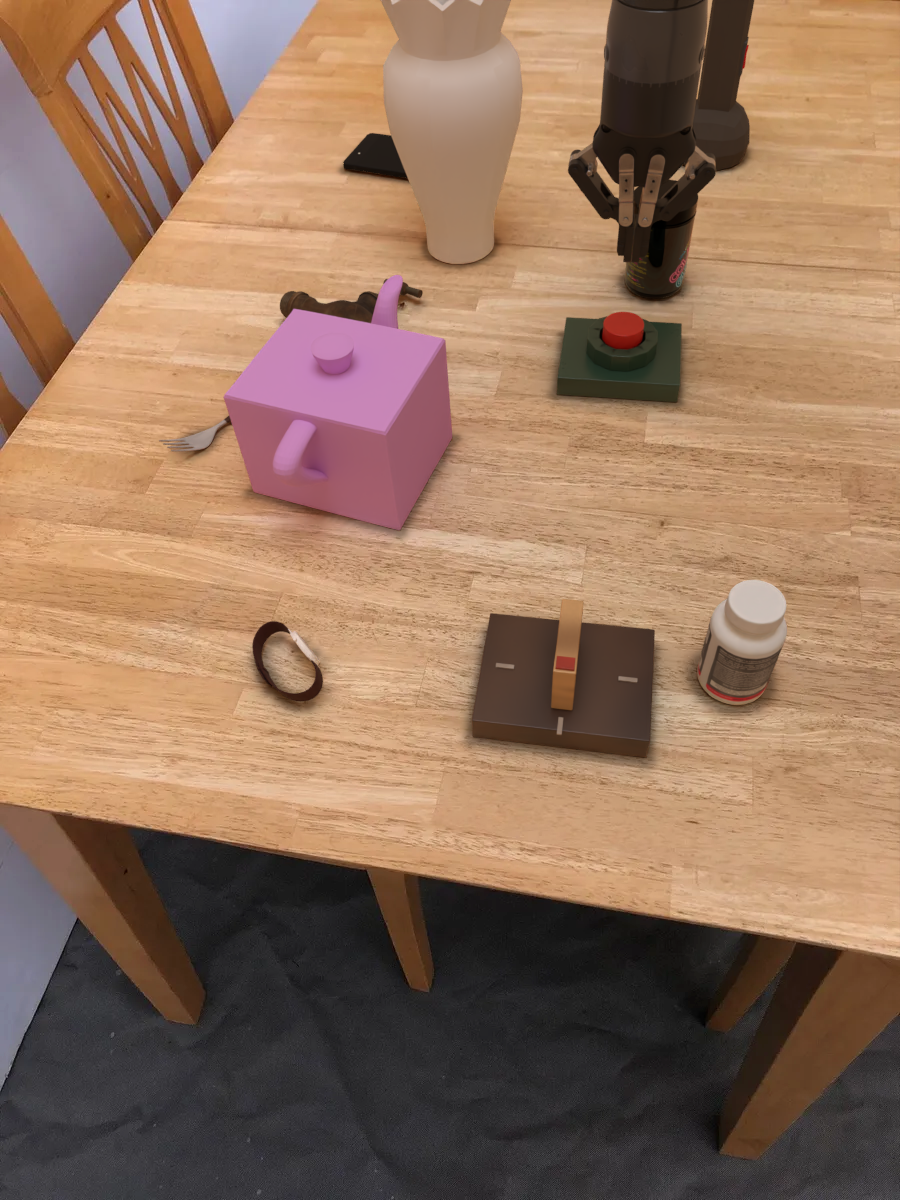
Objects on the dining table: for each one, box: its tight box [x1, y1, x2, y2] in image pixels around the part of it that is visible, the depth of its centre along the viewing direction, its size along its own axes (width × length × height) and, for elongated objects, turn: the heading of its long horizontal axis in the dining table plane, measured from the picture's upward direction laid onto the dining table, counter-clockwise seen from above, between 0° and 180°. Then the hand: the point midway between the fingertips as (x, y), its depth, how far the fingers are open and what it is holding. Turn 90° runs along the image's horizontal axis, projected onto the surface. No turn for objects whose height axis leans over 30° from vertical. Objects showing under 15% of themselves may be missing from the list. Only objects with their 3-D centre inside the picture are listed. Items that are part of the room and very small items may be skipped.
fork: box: [158, 415, 231, 453], centre depth 93 cm, size 3×16×2 cm, turn 135°
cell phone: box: [342, 132, 408, 180], centre depth 123 cm, size 9×18×1 cm, turn 68°
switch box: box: [556, 315, 683, 403], centre depth 94 cm, size 12×10×4 cm
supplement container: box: [623, 179, 699, 300], centre depth 100 cm, size 7×7×10 cm
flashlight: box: [682, 0, 755, 171], centre depth 111 cm, size 10×25×10 cm
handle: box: [551, 598, 585, 710], centre depth 68 cm, size 6×2×5 cm, turn 170°
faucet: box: [279, 278, 424, 323], centre depth 100 cm, size 5×17×15 cm
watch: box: [251, 620, 324, 703], centre depth 73 cm, size 8×5×4 cm, turn 35°
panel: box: [471, 612, 656, 758], centre depth 71 cm, size 13×11×3 cm
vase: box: [380, 0, 524, 265], centre depth 100 cm, size 15×15×29 cm
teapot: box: [223, 274, 453, 531], centre depth 84 cm, size 15×25×14 cm, turn 158°
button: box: [602, 311, 644, 350], centre depth 92 cm, size 4×4×2 cm
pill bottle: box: [696, 579, 788, 706], centre depth 68 cm, size 5×5×10 cm
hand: (631, 257), depth 86 cm, fingers closed
